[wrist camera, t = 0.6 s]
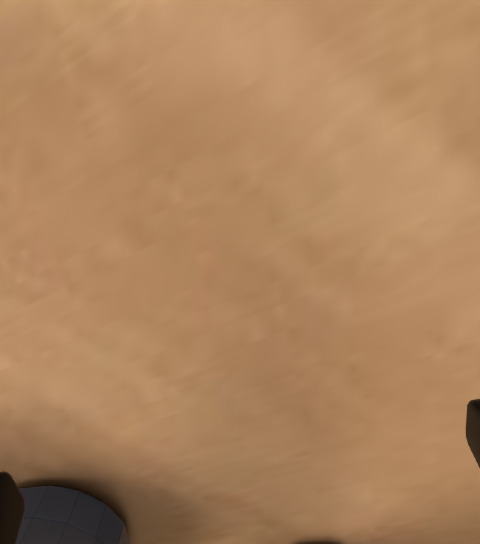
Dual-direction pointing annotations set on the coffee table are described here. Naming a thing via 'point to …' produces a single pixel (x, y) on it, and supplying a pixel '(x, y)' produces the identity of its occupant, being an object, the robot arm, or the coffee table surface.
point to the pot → (68, 518)
